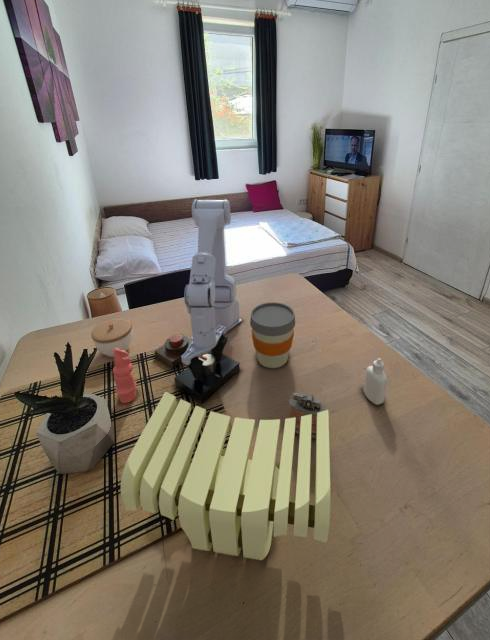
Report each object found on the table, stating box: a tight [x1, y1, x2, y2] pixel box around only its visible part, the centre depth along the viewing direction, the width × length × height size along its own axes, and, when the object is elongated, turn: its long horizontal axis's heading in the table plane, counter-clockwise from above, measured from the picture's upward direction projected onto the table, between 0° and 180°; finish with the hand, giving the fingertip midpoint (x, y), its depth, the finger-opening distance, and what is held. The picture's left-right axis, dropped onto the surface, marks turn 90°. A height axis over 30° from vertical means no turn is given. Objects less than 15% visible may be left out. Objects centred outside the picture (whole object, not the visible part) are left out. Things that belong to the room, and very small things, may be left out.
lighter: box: [288, 392, 327, 439], centre depth 71 cm, size 8×3×10 cm, turn 71°
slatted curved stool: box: [120, 391, 331, 561], centre depth 55 cm, size 30×16×18 cm, turn 82°
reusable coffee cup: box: [249, 301, 296, 369], centre depth 92 cm, size 13×13×15 cm
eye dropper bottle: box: [362, 357, 388, 406], centre depth 79 cm, size 4×6×12 cm
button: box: [169, 333, 183, 347], centre depth 95 cm, size 4×4×2 cm
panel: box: [173, 350, 241, 406], centre depth 86 cm, size 14×10×3 cm
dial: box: [199, 353, 216, 376], centre depth 85 cm, size 4×4×4 cm
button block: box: [154, 333, 192, 369], centre depth 96 cm, size 10×8×4 cm
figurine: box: [112, 348, 138, 404], centre depth 79 cm, size 5×5×15 cm
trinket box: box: [90, 318, 134, 358], centre depth 96 cm, size 11×11×9 cm
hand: (207, 369), depth 86 cm, fingers open, 7 cm apart
